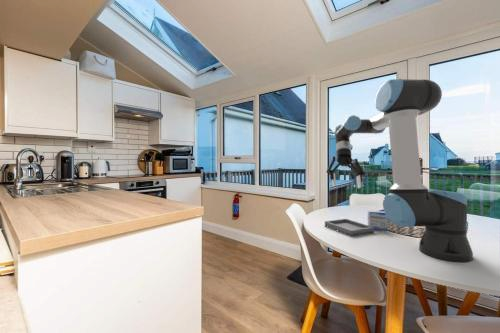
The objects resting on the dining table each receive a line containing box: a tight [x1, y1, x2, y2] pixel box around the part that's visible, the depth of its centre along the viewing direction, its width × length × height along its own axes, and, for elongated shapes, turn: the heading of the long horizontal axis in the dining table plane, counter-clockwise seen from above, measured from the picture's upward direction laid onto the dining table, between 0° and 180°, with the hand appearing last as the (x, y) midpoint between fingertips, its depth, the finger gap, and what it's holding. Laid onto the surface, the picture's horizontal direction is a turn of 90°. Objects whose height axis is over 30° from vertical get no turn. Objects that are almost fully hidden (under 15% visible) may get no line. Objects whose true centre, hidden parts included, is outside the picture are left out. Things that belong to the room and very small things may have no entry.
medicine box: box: [367, 210, 388, 231], centre depth 118 cm, size 8×4×9 cm, turn 73°
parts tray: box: [324, 218, 375, 237], centre depth 118 cm, size 18×14×2 cm
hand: (346, 186), depth 125 cm, fingers open, 13 cm apart
